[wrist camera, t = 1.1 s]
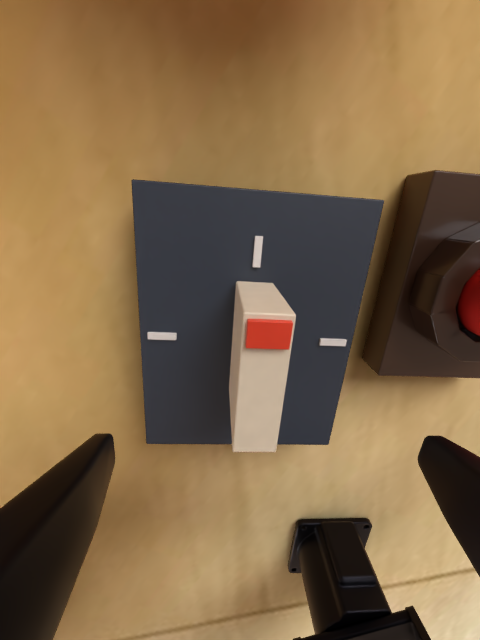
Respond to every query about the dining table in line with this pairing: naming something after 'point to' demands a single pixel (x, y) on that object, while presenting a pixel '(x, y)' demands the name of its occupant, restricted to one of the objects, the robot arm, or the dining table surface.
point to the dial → (259, 365)
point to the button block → (428, 281)
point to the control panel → (219, 299)
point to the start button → (470, 304)
